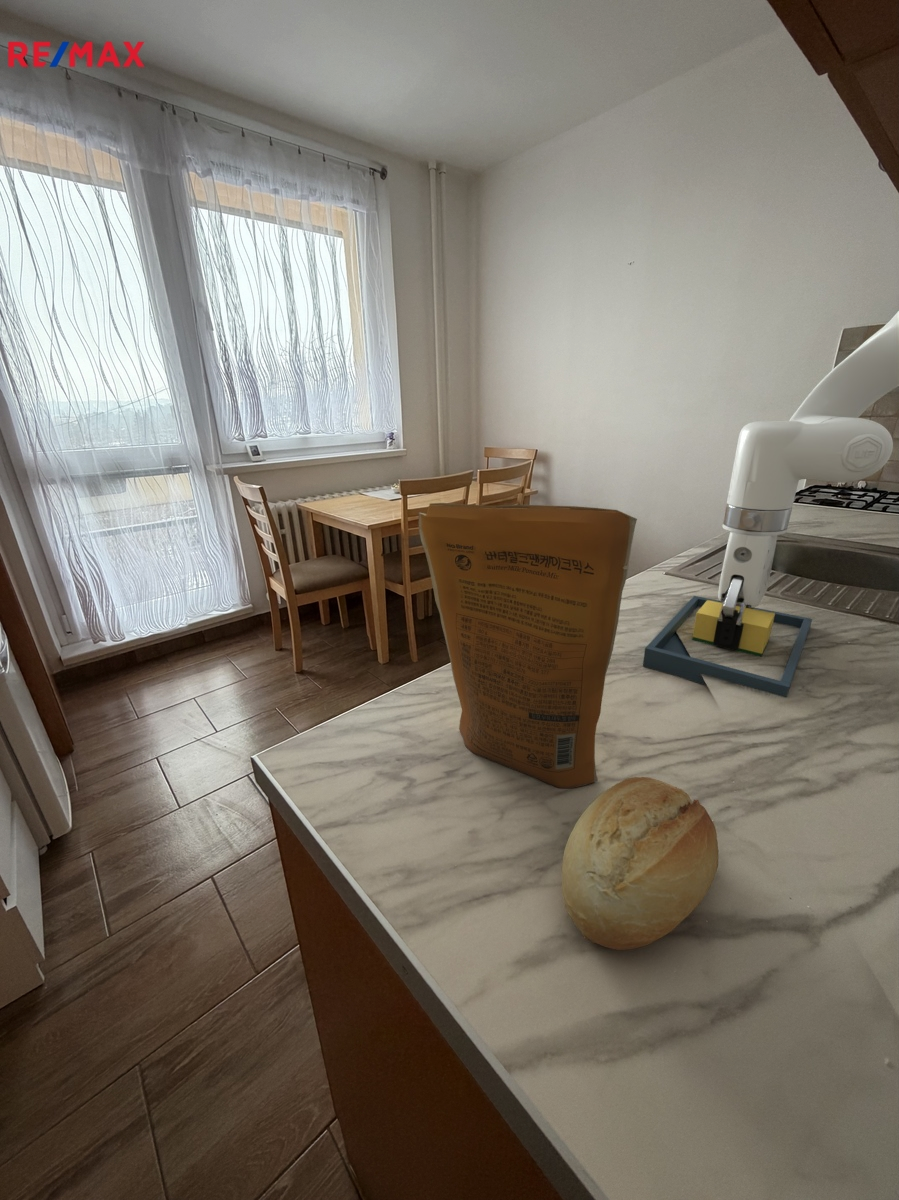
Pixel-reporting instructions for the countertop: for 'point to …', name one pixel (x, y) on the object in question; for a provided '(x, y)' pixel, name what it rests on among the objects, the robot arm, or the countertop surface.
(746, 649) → the sponge
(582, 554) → the pancake mix bag
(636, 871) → the bread roll
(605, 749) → the countertop surface
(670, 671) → the tray
